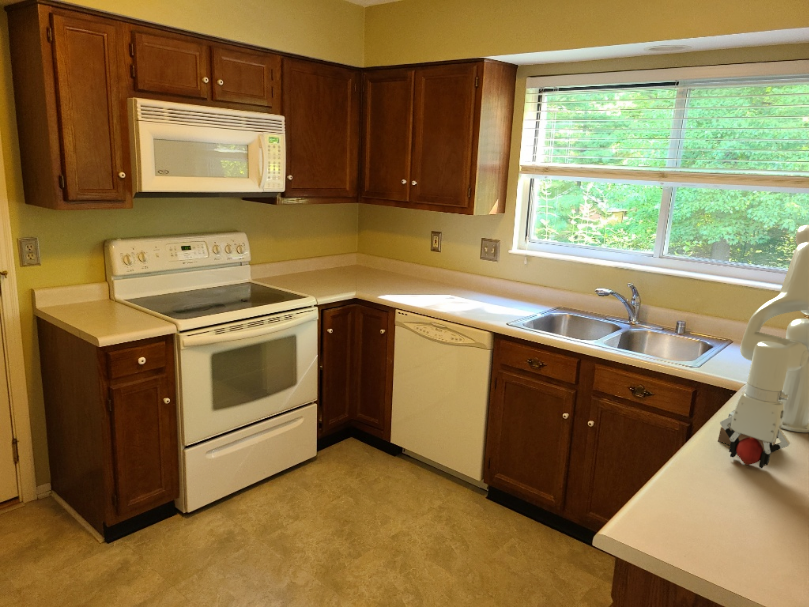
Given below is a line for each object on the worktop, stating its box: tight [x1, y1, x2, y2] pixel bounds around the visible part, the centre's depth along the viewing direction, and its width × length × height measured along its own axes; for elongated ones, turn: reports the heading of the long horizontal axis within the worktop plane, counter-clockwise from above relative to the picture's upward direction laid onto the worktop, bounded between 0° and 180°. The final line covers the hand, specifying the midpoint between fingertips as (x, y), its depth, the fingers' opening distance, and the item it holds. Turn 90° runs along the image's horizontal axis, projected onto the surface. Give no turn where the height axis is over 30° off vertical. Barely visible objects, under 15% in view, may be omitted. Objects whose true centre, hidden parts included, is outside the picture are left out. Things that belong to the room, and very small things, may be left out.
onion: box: [736, 437, 763, 466], centre depth 149 cm, size 6×6×8 cm
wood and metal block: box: [717, 409, 777, 451], centre depth 162 cm, size 11×11×8 cm
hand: (747, 460), depth 150 cm, fingers closed on onion, 5 cm apart
